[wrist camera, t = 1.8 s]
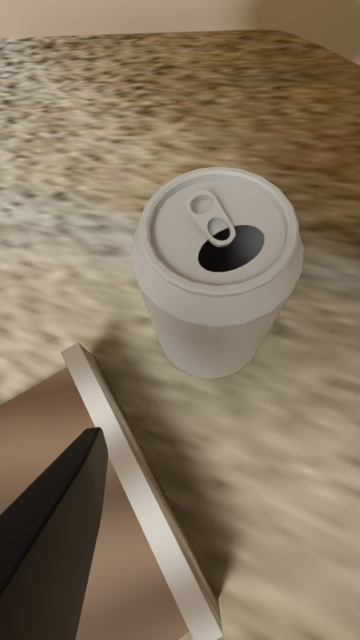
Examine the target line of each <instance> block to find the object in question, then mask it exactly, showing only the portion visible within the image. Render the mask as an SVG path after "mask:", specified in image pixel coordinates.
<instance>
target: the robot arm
mask: <svg viewBox="0 0 360 640" xmlns="http://www.w3.org/2000/svg"><path fill="white" fill-rule="evenodd" d="M107 464H108V448H107V444H106V440H105V437H104V433H103V430H102V428H101V427H92V428H87V429H85V430H84V431H83V432H82V433H81V434H80V435H79V436H78V437H77V438H76V439H75V440H74V441H73V442H72V443H71V444H70V445H69V446H68V447H67V448H66V449H65V450H64V451H63V452H62V453H61V454H60V455H59V456H58V457H57V458H56V459H55V460H54V461H53V462H52V463H51V464H50V465H49V466H48V467H47V468H46V469H45V470H44V471H43V472H42V473H41V474H40V475H39V476H38V477H37V478H36V479H35V480H34V481H33V482H32V483H31V484H30V485H29V486H28V487H27V488H26V489H25V490H24V491H23V492H22V493H21V494H20V495H19V496H18V497H17V498H16V499H15V500H14V501H13V502H12V503H11V504H10V505H9V506H8V507H7V508H6V509H5V510H4V511H3V512H2V513H1V514H0V640H76V635H77V631H78V626H79V621H80V617H81V612H82V607H83V602H84V598H85V593H86V588H87V584H88V579H89V574H90V570H91V565H92V560H93V555H94V551H95V546H96V541H97V537H98V532H99V527H100V522H101V517H102V511H103V503H104V493H105V483H106V474H107Z"/></svg>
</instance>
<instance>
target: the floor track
mask: <svg viewBox="0 0 360 640" xmlns="http://www.w3.org/2000/svg"><path fill="white" fill-rule="evenodd" d="M61 354H62V356H63V358H64V360H65V363H66V365H67V367H68V368H66V369H64V370H62V371H61V372H59V373H57V374H55V375H54V376H52V377H50V378H48V379H47V380H45V381H43V382H41V383H40V384H38V385H36V386H34V387H33V388H31V389H29V390H27V391H26V392H24V393H22V394H20V395H19V396H17V397H15V398H13V399H12V400H10V401H8V402H6V403H5V404H3V405H1V406H0V514H1V513H2V512H3V511H4V510H5V509H6V508H7V507H8V506H9V505H10V504H11V503H12V502H13V501H14V500H15V499H16V498H17V497H18V496H19V495H20V494H21V493H22V492H23V491H24V490H25V489H26V488H27V487H28V486H29V485H30V484H31V483H32V482H33V481H34V480H35V479H36V478H37V477H38V476H39V475H40V474H41V473H42V472H43V471H44V470H45V469H46V468H47V467H48V466H49V465H50V464H51V463H52V462H53V461H54V460H55V459H56V458H57V457H58V456H59V455H60V454H61V453H62V452H63V451H64V450H65V449H66V448H67V447H68V446H69V445H70V444H71V443H72V442H73V441H74V440H75V439H76V438H77V437H78V436H79V435H80V434H81V433H82V432H83V431H84V430H85V429H87V428H92V427H101V428H102V430H103V433H104V437H105V440H106V444H107V448H108V464H107V474H106V483H105V493H104V503H103V511H102V517H101V522H100V527H99V532H98V537H97V541H96V546H95V551H94V555H93V560H92V565H91V570H90V574H89V579H88V584H87V588H86V593H85V598H84V602H83V607H82V612H81V617H80V621H79V626H78V631H77V635H76V640H178V639H180V638H181V637H182V636H184V635H185V634H186V633H187V632H189V631H190V633H191V636H192V638H193V640H217V639H218V638H220V637H221V636H222V635H223V633H222V625H221V617H220V609H219V601H218V598H217V596H216V594H215V592H214V590H213V588H212V586H211V584H210V582H209V580H208V578H207V576H206V574H205V572H204V570H203V568H202V566H201V564H200V562H199V560H198V558H197V556H196V554H195V552H194V550H193V548H192V547H191V545H190V543H189V541H188V539H187V537H186V535H185V533H184V531H183V529H182V527H181V525H180V523H179V521H178V519H177V517H176V515H175V513H174V511H173V509H172V507H171V505H170V503H169V501H168V499H167V497H166V495H165V493H164V491H163V489H162V487H161V486H160V484H159V482H158V480H157V478H156V476H155V474H154V472H153V470H152V468H151V466H150V464H149V462H148V460H147V458H146V456H145V454H144V452H143V450H142V448H141V446H140V444H139V442H138V440H137V438H136V436H135V434H134V432H133V430H132V428H131V427H130V425H129V423H128V421H127V419H126V417H125V415H124V413H123V411H122V409H121V407H120V405H119V403H118V401H117V399H116V397H115V395H114V393H113V391H112V389H111V387H110V385H109V383H108V381H107V379H106V377H105V375H104V373H103V371H102V369H101V368H100V366H99V364H98V362H97V360H96V358H95V357H94V356H93V355H92V354H91V353H89V352H88V351H87V350H86V349H85V348H84V347H83V346H82V345H80V344H79V343H76V344H75V345H73V346H71V347H69V348H68V349H66V350H64V351H62V352H61Z"/></svg>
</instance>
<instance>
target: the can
mask: <svg viewBox="0 0 360 640" xmlns="http://www.w3.org/2000/svg"><path fill="white" fill-rule="evenodd" d="M303 255H304V247H303V244H302V240H301V237H300V234H299V224H298V220H297V217H296V214H295V211H294V207H293V205H292V204H291V203H290V201H289V200H288V199H287V198H286V196H285V195H284V194H283V192H282V191H281V190H280V189H279V188H277V187H276V186H275V185H273V184H272V183H270V182H269V181H267V180H266V179H264V178H263V177H261V176H258V175H256V174H253V173H250V172H247V171H245V170H242V169H235V168H226V167H212V168H203V169H196V170H193V171H191V172H188V173H185V174H182V175H180V176H177V177H175V178H173V179H172V180H170V181H169V182H167V183H166V184H165V185H163V186H162V187H160V188H159V189H158V190H157V191H156V192H155V193H154V195H153V196H152V197H151V198H150V200H149V201H148V202H147V203H146V205H145V207H144V210H143V213H142V216H141V219H140V222H139V224H138V226H137V229H136V232H135V235H134V238H133V241H132V244H131V263H132V270H133V273H134V275H135V278H136V281H137V283H138V286H139V289H140V291H141V294H142V297H143V299H144V302H145V305H146V308H147V310H148V313H149V316H150V318H151V321H152V324H153V326H154V329H155V332H156V334H157V337H158V340H159V342H160V345H161V347H162V349H163V352H164V354H165V355H166V356H167V357H168V359H169V360H170V361H171V362H172V363H173V364H174V365H175V366H176V367H177V368H179V369H181V370H183V371H184V372H186V373H188V374H190V375H193V376H197V377H202V378H207V379H209V378H219V377H226V376H228V375H230V374H232V373H235V372H237V371H239V370H241V369H242V368H243V367H244V366H245V365H246V364H247V363H248V362H250V361H251V360H252V359H253V357H254V356H255V354H256V352H257V350H258V349H259V347H260V345H261V344H262V342H263V340H264V339H265V337H266V335H267V333H268V332H269V330H270V328H271V327H272V325H273V323H274V321H275V320H276V318H277V316H278V315H279V313H280V311H281V310H282V308H283V306H284V304H285V303H286V301H287V299H288V298H289V296H290V294H291V292H292V290H293V288H294V287H295V285H296V283H297V281H298V279H299V277H300V275H301V273H302V267H303Z"/></svg>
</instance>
